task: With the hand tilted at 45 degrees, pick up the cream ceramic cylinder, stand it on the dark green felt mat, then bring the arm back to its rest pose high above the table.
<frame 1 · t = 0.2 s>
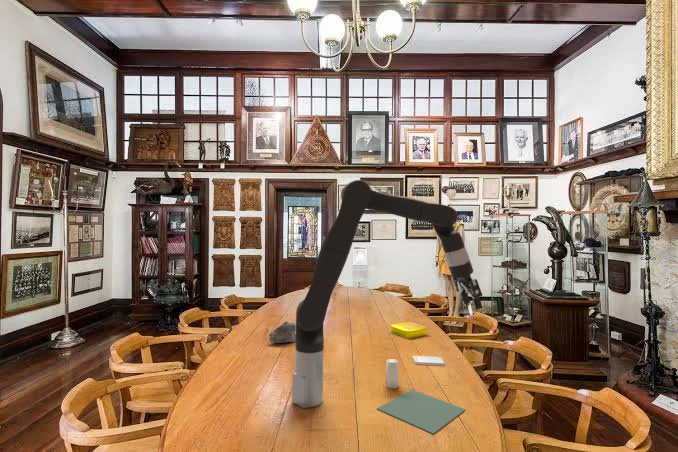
hand: (473, 305, 130), 31 cm above the table, tool tilted 20°, fingers open, 8 cm apart
hard drive: (428, 363, 162), on the table
mineral rock: (283, 342, 186), on the table
element tile: (408, 334, 206), on the table
felt mat: (421, 409, 119), on the table
ceramic cylinder: (392, 385, 136), on the table
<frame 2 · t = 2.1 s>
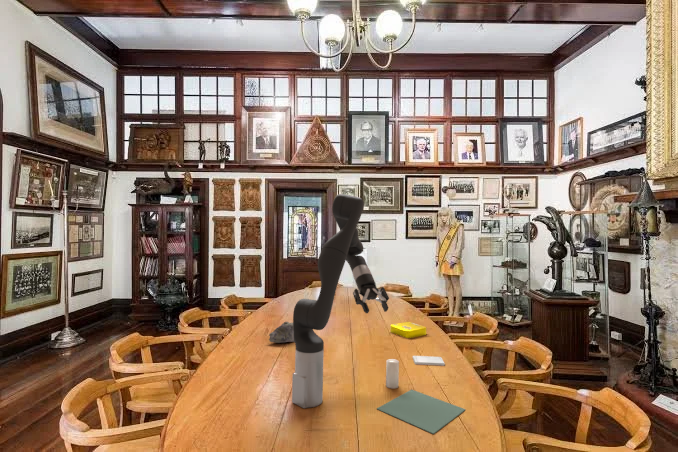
hand: (377, 311, 147), 25 cm above the table, tool tilted 45°, fingers open, 8 cm apart
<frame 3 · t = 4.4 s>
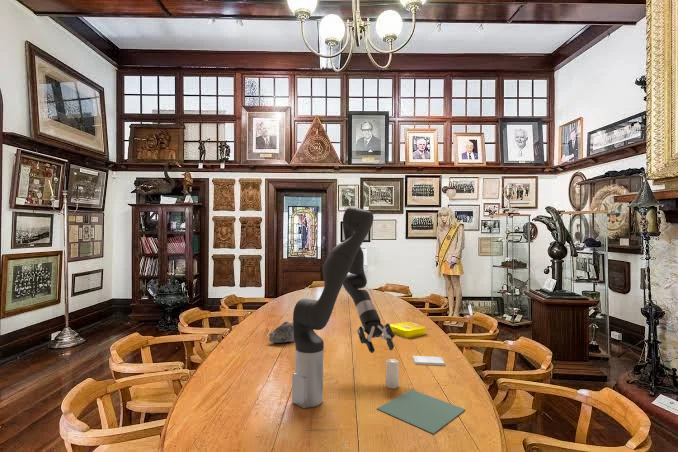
hand: (382, 350, 142), 11 cm above the table, tool tilted 45°, fingers open, 8 cm apart
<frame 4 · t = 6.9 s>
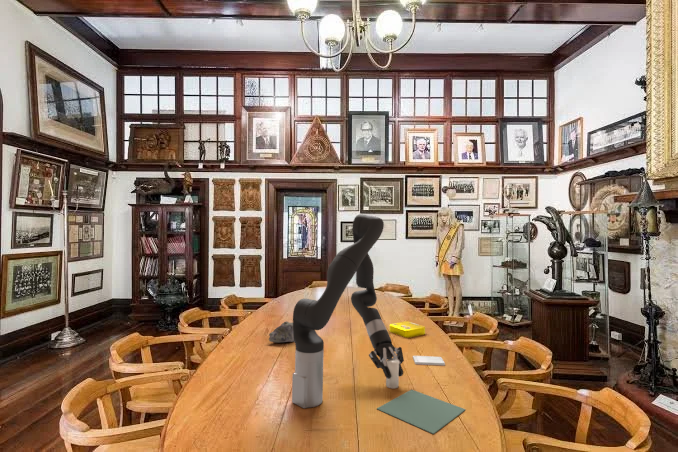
hand: (395, 376, 135), 4 cm above the table, tool tilted 45°, fingers closed on ceramic cylinder, 4 cm apart
ceramic cylinder: (392, 385, 136), on the table, touching gripper
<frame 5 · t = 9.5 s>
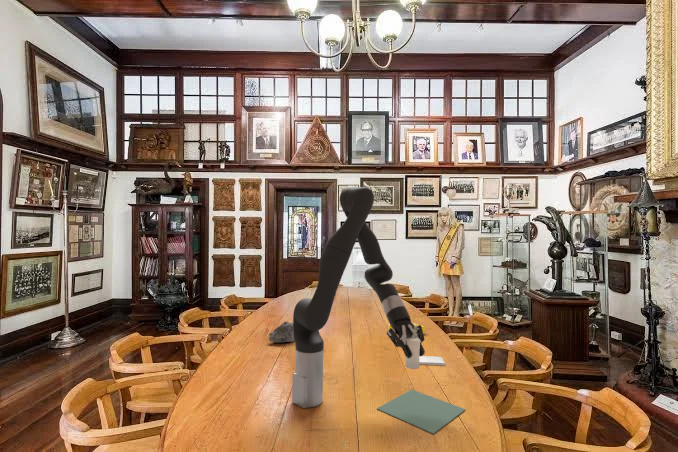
hand: (416, 355, 123), 16 cm above the table, tool tilted 45°, fingers closed on ceramic cylinder, 4 cm apart
ceramic cylinder: (412, 366, 124), point 12 cm above the table, touching gripper
when the fingers open (5 cm above the table, at t = 12.4 s): ceramic cylinder drops 1 cm, resting on felt mat.
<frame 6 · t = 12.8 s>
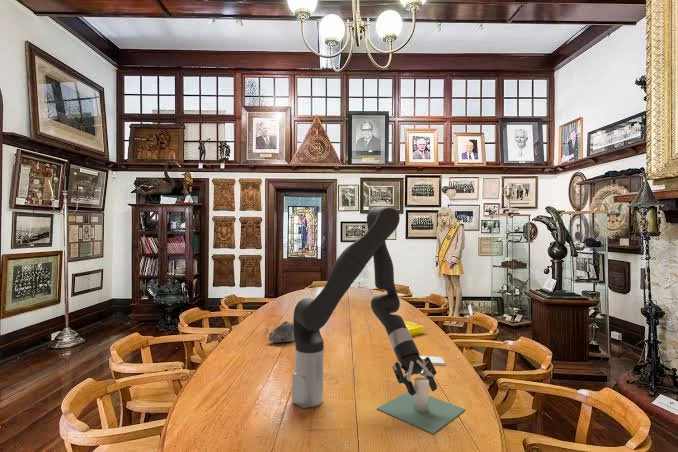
hand: (424, 392, 118), 6 cm above the table, tool tilted 45°, fingers open, 8 cm apart
ceramic cylinder: (420, 408, 119), resting on felt mat
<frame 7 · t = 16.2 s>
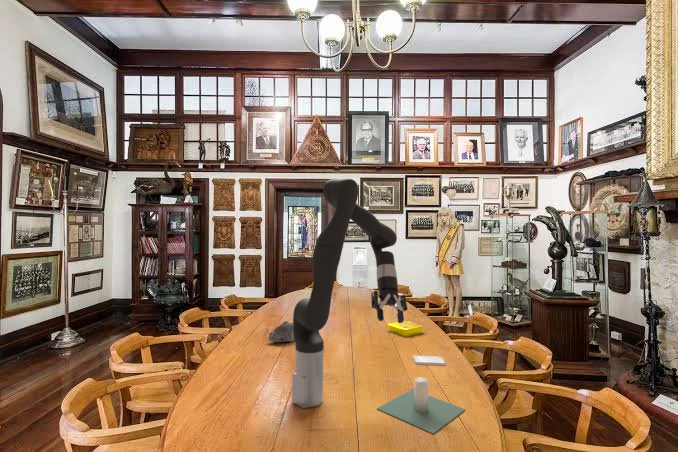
hand: (391, 321, 134), 24 cm above the table, tool tilted 30°, fingers open, 8 cm apart
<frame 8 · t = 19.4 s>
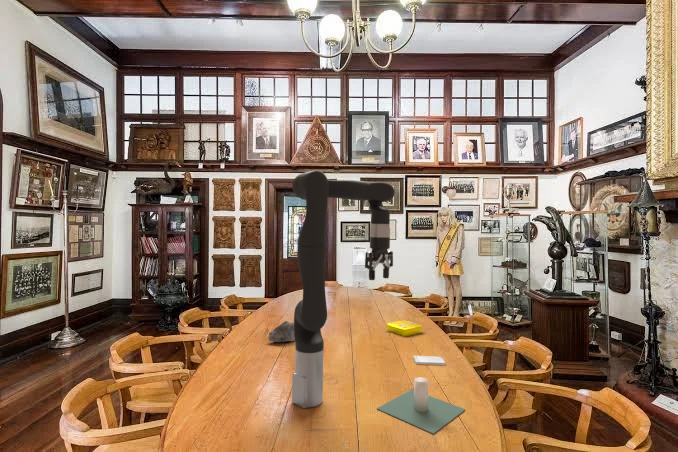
hand: (379, 279, 141), 38 cm above the table, tool pointing down, fingers open, 8 cm apart
at the end: ceramic cylinder 0.1 cm from the felt mat (horizontally); ceramic cylinder tilted 0°; ceramic cylinder touching felt mat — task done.
